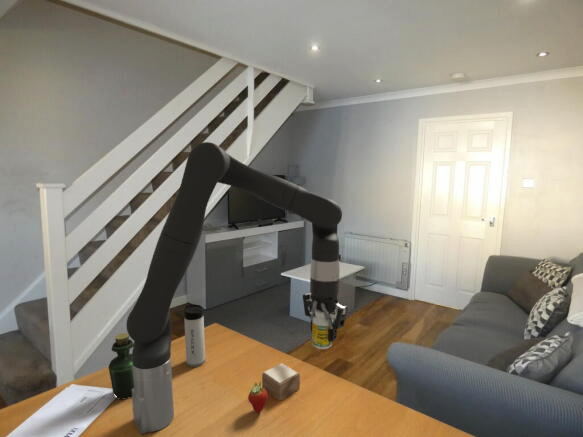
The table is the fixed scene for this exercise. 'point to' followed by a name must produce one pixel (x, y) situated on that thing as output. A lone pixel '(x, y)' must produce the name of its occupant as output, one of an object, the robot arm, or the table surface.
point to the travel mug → (194, 335)
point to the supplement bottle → (320, 331)
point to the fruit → (258, 397)
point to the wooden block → (281, 381)
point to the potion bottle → (122, 367)
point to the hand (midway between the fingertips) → (323, 336)
